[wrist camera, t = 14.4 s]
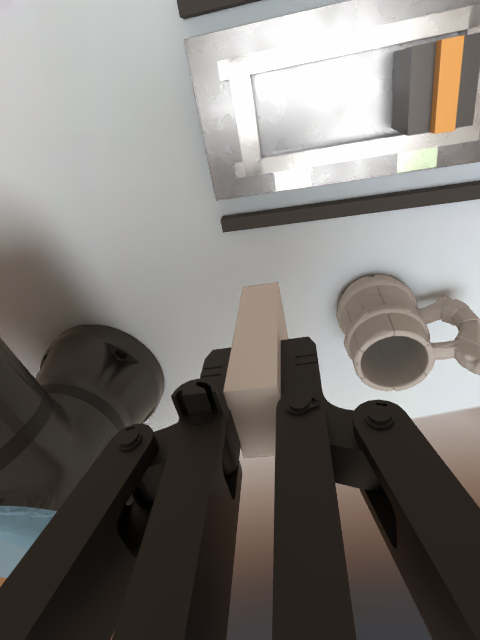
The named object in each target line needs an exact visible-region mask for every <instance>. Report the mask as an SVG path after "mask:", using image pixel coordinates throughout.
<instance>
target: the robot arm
mask: <svg viewBox="0 0 480 640" xmlns="http://www.w3.org/2000/svg"><path fill="white" fill-rule="evenodd" d="M202 369H203V370H202V372H201V376H200V377H201V378H200V379H195V380H191V381H188V382H186V383H184V384H182V385H181V386H179V387H178V388H177V389H176V390H175V391H174V393H173V394H172V396H171V398H172V400H173V403H174V405H175V408H176V410H177V413H178V415H179V421H178V423H176V424H174V425H172V426H169V427H167V428H164V429H161V430H158V431H155V432H153V430H152V429H151V428H150V426H149V425H146V424H143V422H145V421H146V420H147V419H148V418H149V417H150V416H151V415H152V414H153V412H154V411H155V410H156V408H157V406H158V403H159V401H160V399H161V396H162V394H163V390H164V378H163V373H162V370H161V368H160V366H159V364H158V362H157V360H156V359H155V357H154V356H153V355H152V354H151V352H150V351H149V350H148V349H147V348H146V347H145V346H144V345H142V344H141V343H140V342H139V341H137V340H136V339H134V338H133V337H131V336H129V335H127V334H125V333H123V332H121V331H119V330H116V329H113V328H109V327H105V326H99V325H83V326H77V327H74V328H71V329H69V330H67V331H65V332H63V333H62V334H61V335H60V336H59V337H58V338H57V339H56V340H55V341H54V342H53V343H52V344H51V345H50V346H49V348H48V349H47V350H46V352H45V354H44V356H43V358H42V361H41V366H40V371H39V373H38V374H37V377H36V379H35V378H34V377H33V376H32V375H31V373H30V372H29V371H28V370H27V369H26V368H25V366H24V365H23V364H22V363H21V362H20V360H19V359H18V358H17V357H16V356H15V354H14V353H13V352H12V351H11V350H10V348H9V347H8V346H7V345H6V344H5V343H4V341H3V340H2V339H1V338H0V577H2V578H7V579H6V580H5V582H4V583H3V585H2V586H1V587H0V640H110V639H111V636H112V634H113V633H114V635H113V639H112V640H226V638H227V628H228V617H229V607H230V606H229V605H230V595H231V586H232V575H233V565H234V554H235V544H236V533H237V522H238V512H239V502H240V491H241V480H242V468H241V465H240V461H239V455H240V448H241V451H242V454H243V457H244V458H251V457H252V458H253V457H266V456H275V502H274V503H275V505H274V564H273V565H274V566H273V567H274V568H273V627H272V640H357V639H356V632H355V625H354V619H353V618H354V617H353V611H352V603H351V596H350V588H349V581H348V574H347V566H346V559H345V552H344V544H343V537H342V530H341V522H340V516H339V508H338V501H337V494H336V487H335V483H339V484H343V485H347V486H352V487H356V488H359V489H360V491H361V493H362V496H363V497H364V500H365V502H366V504H367V505H368V508H369V510H370V511H371V514H372V516H373V518H374V520H375V522H376V524H377V526H378V528H379V530H380V532H381V534H382V537H383V538H384V541H385V543H386V545H387V547H388V549H389V551H390V553H391V555H392V557H393V559H394V561H395V563H396V565H397V567H398V569H399V571H400V574H401V576H402V578H403V580H404V582H405V584H406V586H407V588H408V590H409V592H410V594H411V596H412V598H413V600H414V602H415V604H416V606H417V608H418V611H419V612H420V615H421V617H422V619H423V621H424V623H425V624H426V627H427V629H428V631H429V633H430V635H431V637H432V639H433V640H480V508H479V507H478V506H477V504H476V503H475V502H474V500H473V499H472V498H471V496H470V495H469V494H468V492H467V491H466V490H465V489H464V487H463V486H462V485H461V484H460V482H459V481H458V479H457V478H456V477H455V476H454V474H453V473H452V472H451V470H450V469H449V468H448V467H447V465H446V464H445V463H444V461H443V460H442V459H441V457H440V456H439V455H438V454H437V452H436V451H435V450H434V448H433V447H432V446H431V444H430V443H429V442H428V441H427V439H426V438H425V437H424V435H423V434H422V433H421V431H420V430H419V429H418V428H417V426H416V425H415V424H414V422H413V421H412V420H411V418H410V417H409V416H408V415H407V413H406V412H405V411H404V410H403V409H402V408H401V407H400V406H398V405H397V404H394V403H392V402H390V401H384V400H371V401H367V402H365V403H362V404H360V405H359V406H358V407H357V408H356V409H355V410H354V411H353V410H347V409H342V408H338V407H336V406H334V405H332V404H331V403H329V402H328V401H327V400H326V399H325V397H324V395H323V392H322V386H321V379H320V372H319V365H318V358H317V351H316V344H315V343H314V342H313V341H312V340H311V339H310V338H309V337H302V338H294V339H288V334H287V329H286V323H285V318H284V312H283V307H282V301H281V296H280V290H279V285H278V282H275V283H269V284H262V285H256V286H250V287H243V290H242V295H241V300H240V306H239V311H238V316H237V322H236V327H235V332H234V338H233V343H232V348H224V349H216V350H212V351H211V353H210V354H209V355H208V356H207V357H206V359H205V361H204V365H203V368H202ZM114 631H115V632H114Z"/></svg>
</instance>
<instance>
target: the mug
mask: <svg viewBox="0 0 480 640" xmlns="http://www.w3.org/2000/svg"><path fill="white" fill-rule="evenodd" d="M337 319H338V322H339V325H340V328H341V330H342V331H343V333H344V334H345V335H346V336H345V340H344V346H345V348H346V350H347V353H348V355H349V357H350V358H351V360H352V361H353V364H354V368H355V371H356V373H357V375H358V377H359V378H360V379H361V381H362V382H363V383H365V384H366V385H368V386H370V387H372V388H374V389H377V390H382V391H392V390H393V389H394V390H395V391H400V390H404V389H407V388H410V387H412V386H414V385H416V384H418V383H420V382H421V381H422V380H424V379H425V377H426V376H427V374H429V373H430V371H431V370H432V368H433V365H434V362H435V360H438V359H449V358H455V359H456V360H457V361H458V363H459V364H460V365H461V366H463V367H464V368H466V369H468V370H469V371H471V372H473V373H475V374H478V375H480V319H479V318H478V317H477V316H476V315H475V314H474V313H473V311H472V310H471V309H470V308H469V306H467V305H466V304H465V303H463V302H461V301H459V300H457V299H455V300H453V299H451V298H449V297H447V296H444V297H441V298H440V299H438V300H437V301H436V302H435V303H433V304H431V305H429V306H427V307H425V308H422V309H418V306H417V301H416V299H415V296H414V295H413V293H412V291H411V290H410V289H409V288H408V287H407V286H406V285H405V284H404V283H402V282H400V281H398V280H397V279H396V278H394V277H391V276H388V275H381V274H376V275H374V277H368V276H365V277H362V278H360V279H358V280H356V281H354V282H353V283H352V284H350V285H349V286H348V287H347V288H346V290H345V291H344V294H342V296H341V298H340V302H339V305H338V309H337ZM440 319H441V320H442V321H443V322H446V323H449V324H452V325H456V327H457V328H458V330H459V333H458V335H457V337H456V338H455V340H453V341H448V342H439V343H431V342H430V334H429V330H428V328H427V325H426V324H428V323H431V322H434V321H436V320H440Z"/></svg>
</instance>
